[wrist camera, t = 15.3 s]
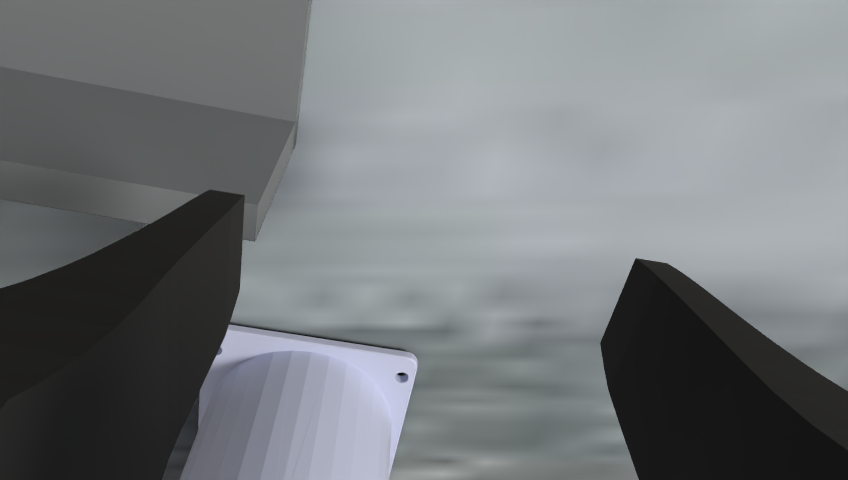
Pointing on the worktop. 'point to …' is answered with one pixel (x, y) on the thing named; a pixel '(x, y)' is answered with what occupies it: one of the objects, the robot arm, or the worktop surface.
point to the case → (149, 102)
